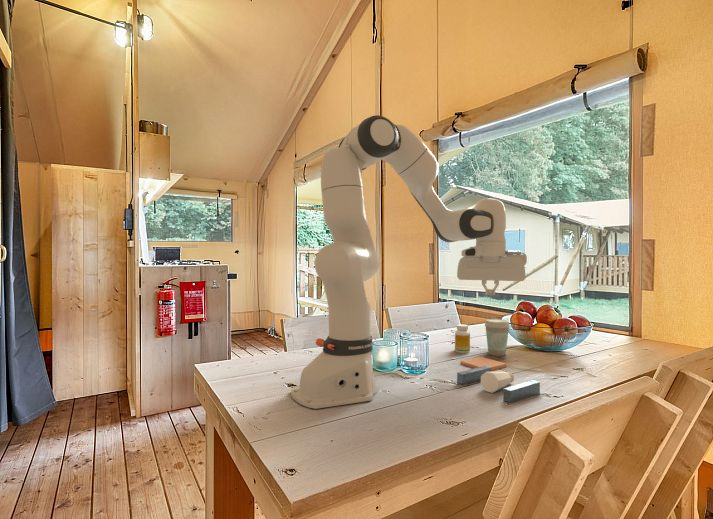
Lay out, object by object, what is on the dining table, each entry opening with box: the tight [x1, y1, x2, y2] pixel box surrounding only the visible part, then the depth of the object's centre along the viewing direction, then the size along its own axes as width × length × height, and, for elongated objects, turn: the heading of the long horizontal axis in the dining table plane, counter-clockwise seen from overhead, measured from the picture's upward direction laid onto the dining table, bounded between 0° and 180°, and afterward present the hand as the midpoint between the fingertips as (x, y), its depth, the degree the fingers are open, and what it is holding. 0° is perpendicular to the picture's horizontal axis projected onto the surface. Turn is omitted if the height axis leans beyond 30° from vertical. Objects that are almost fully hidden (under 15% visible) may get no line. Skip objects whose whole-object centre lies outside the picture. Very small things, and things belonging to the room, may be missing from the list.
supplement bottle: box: [454, 323, 471, 354], centre depth 142 cm, size 5×5×10 cm
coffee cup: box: [484, 318, 511, 357], centre depth 139 cm, size 8×8×12 cm
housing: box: [456, 366, 541, 404], centre depth 103 cm, size 12×17×3 cm
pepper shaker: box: [480, 371, 515, 394], centre depth 104 cm, size 5×5×11 cm
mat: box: [459, 356, 507, 372], centre depth 124 cm, size 10×10×1 cm
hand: (490, 295), depth 121 cm, fingers closed
